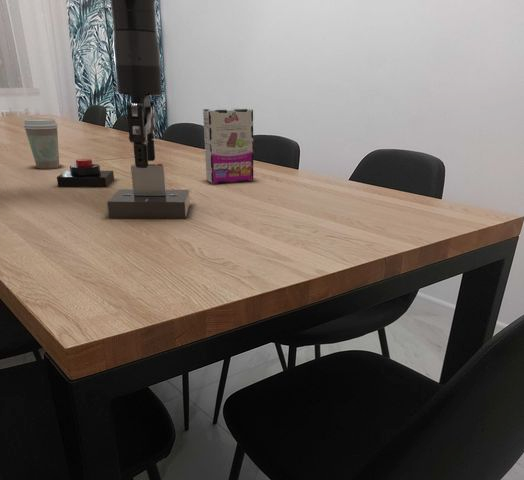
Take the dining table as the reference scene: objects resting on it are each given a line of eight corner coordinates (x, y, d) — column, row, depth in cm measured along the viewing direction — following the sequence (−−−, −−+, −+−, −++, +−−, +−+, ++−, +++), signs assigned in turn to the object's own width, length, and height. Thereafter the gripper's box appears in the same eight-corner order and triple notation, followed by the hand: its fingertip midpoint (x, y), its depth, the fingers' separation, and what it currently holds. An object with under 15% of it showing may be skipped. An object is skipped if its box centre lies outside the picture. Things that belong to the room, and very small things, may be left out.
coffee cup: (31, 170, 133) (21, 121, 128) (31, 165, 140) (22, 118, 134) (65, 169, 136) (57, 120, 130) (64, 164, 143) (56, 118, 137)
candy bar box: (246, 178, 129) (246, 107, 121) (253, 181, 125) (254, 108, 117) (205, 180, 125) (202, 107, 117) (211, 184, 121) (209, 109, 113)
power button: (75, 168, 117) (73, 160, 116) (79, 166, 120) (78, 158, 119) (90, 168, 117) (89, 160, 116) (94, 166, 120) (93, 158, 119)
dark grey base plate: (109, 218, 92) (106, 200, 91) (120, 204, 102) (118, 188, 100) (185, 218, 93) (184, 201, 92) (189, 204, 103) (189, 188, 101)
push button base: (58, 186, 116) (54, 168, 114) (69, 179, 124) (66, 162, 122) (106, 187, 116) (104, 169, 114) (114, 179, 124) (112, 162, 122)
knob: (133, 195, 95) (130, 163, 92) (135, 194, 96) (131, 162, 94) (165, 196, 95) (163, 164, 93) (166, 194, 97) (164, 162, 94)
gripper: (154, 63, 79) (161, 170, 87) (165, 64, 91) (170, 158, 99) (105, 61, 79) (117, 170, 86) (123, 63, 91) (132, 157, 99)
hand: (145, 163), depth 93 cm, fingers open, 8 cm apart
